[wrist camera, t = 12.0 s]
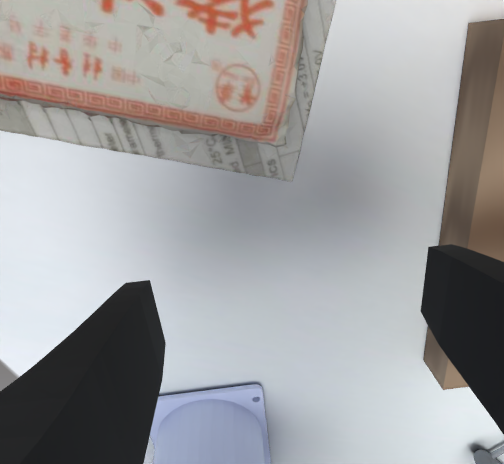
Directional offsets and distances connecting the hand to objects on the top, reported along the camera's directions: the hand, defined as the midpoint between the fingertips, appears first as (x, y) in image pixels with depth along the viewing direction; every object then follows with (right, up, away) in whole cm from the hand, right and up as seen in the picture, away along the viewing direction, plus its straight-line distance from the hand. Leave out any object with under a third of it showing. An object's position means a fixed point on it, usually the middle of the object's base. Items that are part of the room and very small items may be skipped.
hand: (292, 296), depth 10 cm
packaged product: (-7, +11, +7) cm, 14 cm away
